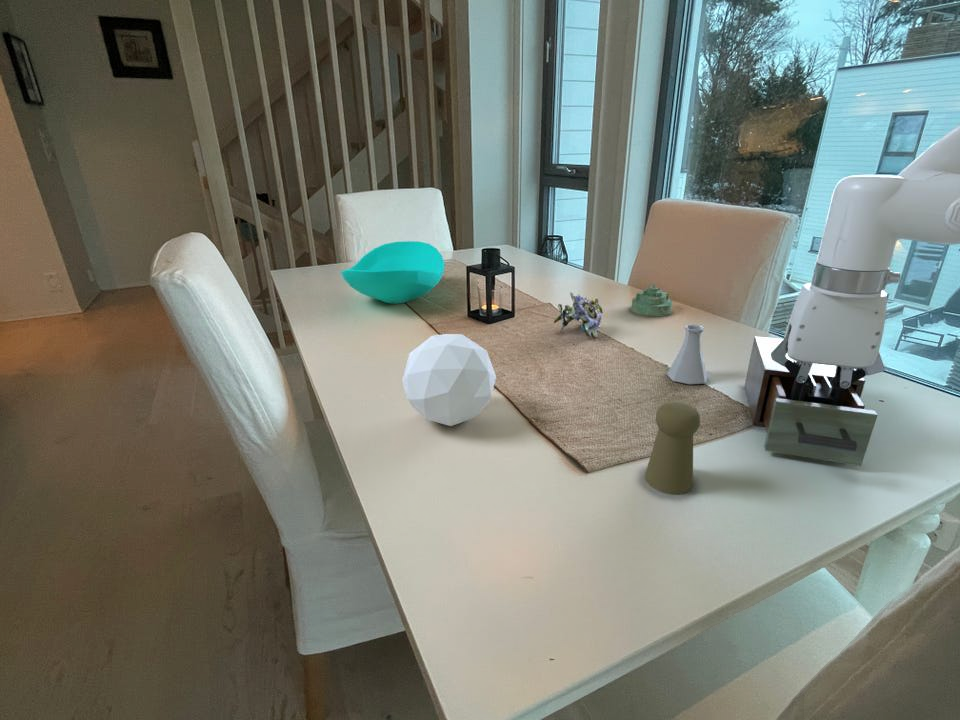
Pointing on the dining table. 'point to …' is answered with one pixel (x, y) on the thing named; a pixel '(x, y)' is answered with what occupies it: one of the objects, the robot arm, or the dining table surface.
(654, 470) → the olive pawn
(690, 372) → the flask
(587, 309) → the passion flower
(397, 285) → the table top decor
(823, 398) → the binder clip
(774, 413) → the drawer
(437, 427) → the dining table surface
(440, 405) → the geometric sphere
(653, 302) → the decorative artifact
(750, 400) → the cabinet
